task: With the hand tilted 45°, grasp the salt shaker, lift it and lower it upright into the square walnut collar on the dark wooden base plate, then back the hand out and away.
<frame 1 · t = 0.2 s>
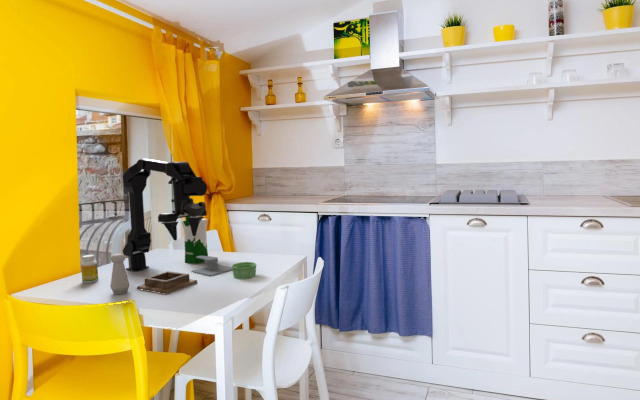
hand: (185, 238, 169), 14 cm above the table, tool pointing down, fingers open, 9 cm apart
ramekin: (244, 277, 169), on the table
collar socket: (167, 286, 159), on the table
shower valve: (211, 271, 179), on the table
salt shaker: (120, 293, 153), on the table
milk carton: (197, 262, 195), on the table
supplement bottle: (90, 282, 168), on the table
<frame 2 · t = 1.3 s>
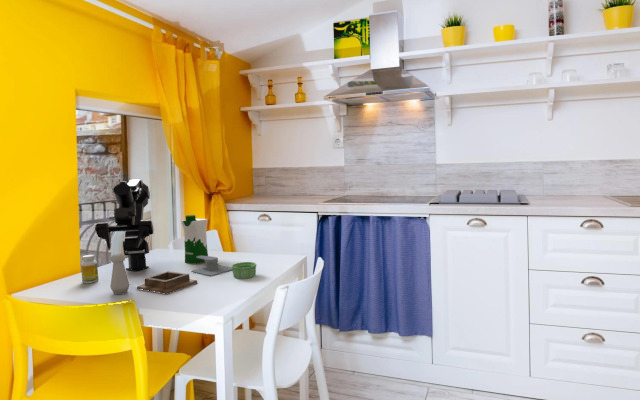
hand: (123, 248, 159), 13 cm above the table, tool tilted 45°, fingers open, 9 cm apart
nothing on the table moved.
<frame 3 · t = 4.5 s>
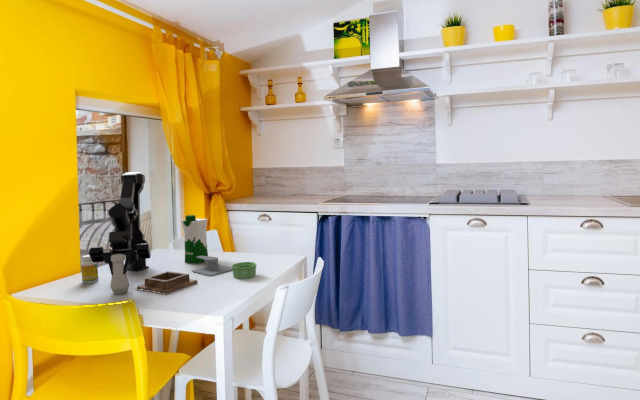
hand: (118, 274, 151), 7 cm above the table, tool tilted 45°, fingers closed on salt shaker, 3 cm apart
salt shaker: (120, 293, 153), on the table, touching gripper
everything else where it was.
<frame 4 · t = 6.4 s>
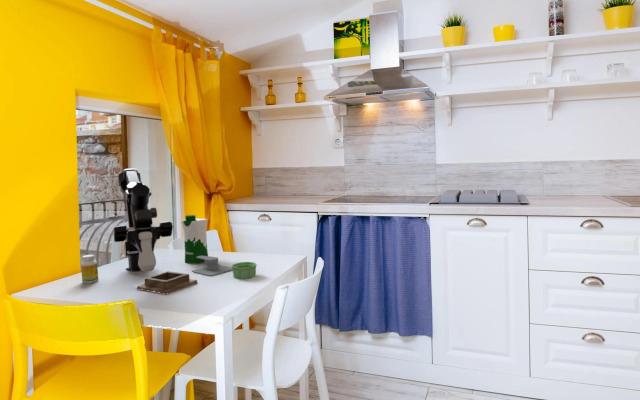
hand: (147, 251, 153), 13 cm above the table, tool tilted 45°, fingers closed on salt shaker, 3 cm apart
salt shaker: (147, 270, 155), point 6 cm above the table, touching gripper
everything else where it was.
when the fingers open (8 cm above the table, at t = 8.4 s): salt shaker stays where it is, resting on collar socket.
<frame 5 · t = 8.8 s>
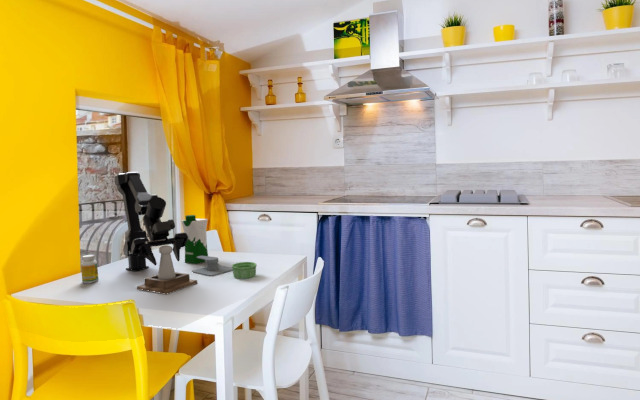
hand: (167, 262, 157), 9 cm above the table, tool tilted 45°, fingers open, 8 cm apart
salt shaker: (167, 283, 159), point 1 cm above the table, touching collar socket
everything else where it was.
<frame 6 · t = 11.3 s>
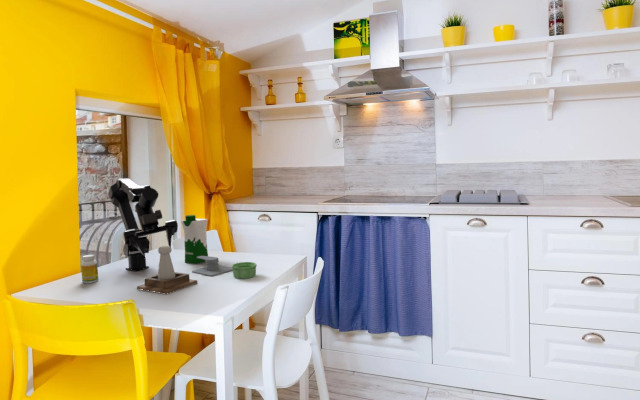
hand: (157, 251, 165), 11 cm above the table, tool tilted 40°, fingers open, 9 cm apart
nothing on the table moved.
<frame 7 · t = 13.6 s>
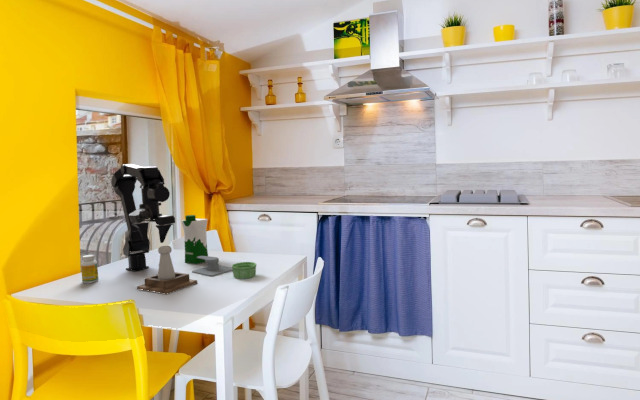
hand: (153, 242, 172), 13 cm above the table, tool pointing down, fingers open, 9 cm apart
nothing on the table moved.
at the end: salt shaker 0.2 cm off-centre on the collar socket, point 0.8 cm above the collar socket's base; salt shaker tilted 0°; the gripper is holding nothing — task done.
